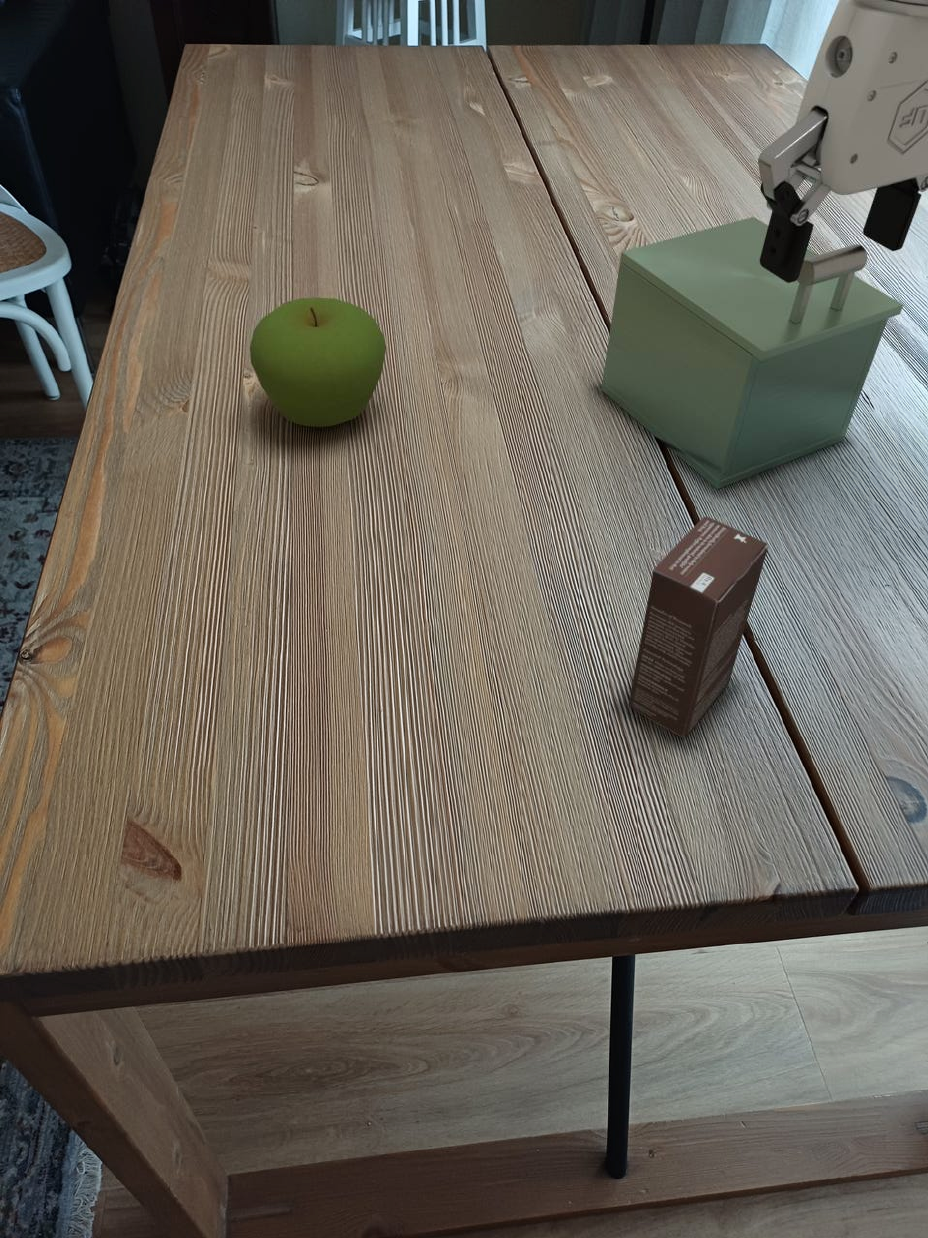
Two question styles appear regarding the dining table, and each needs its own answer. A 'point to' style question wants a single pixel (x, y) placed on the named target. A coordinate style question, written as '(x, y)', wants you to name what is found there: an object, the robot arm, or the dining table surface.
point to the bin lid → (762, 288)
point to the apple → (318, 360)
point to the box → (695, 623)
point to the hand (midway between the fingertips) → (830, 257)
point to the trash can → (728, 385)
